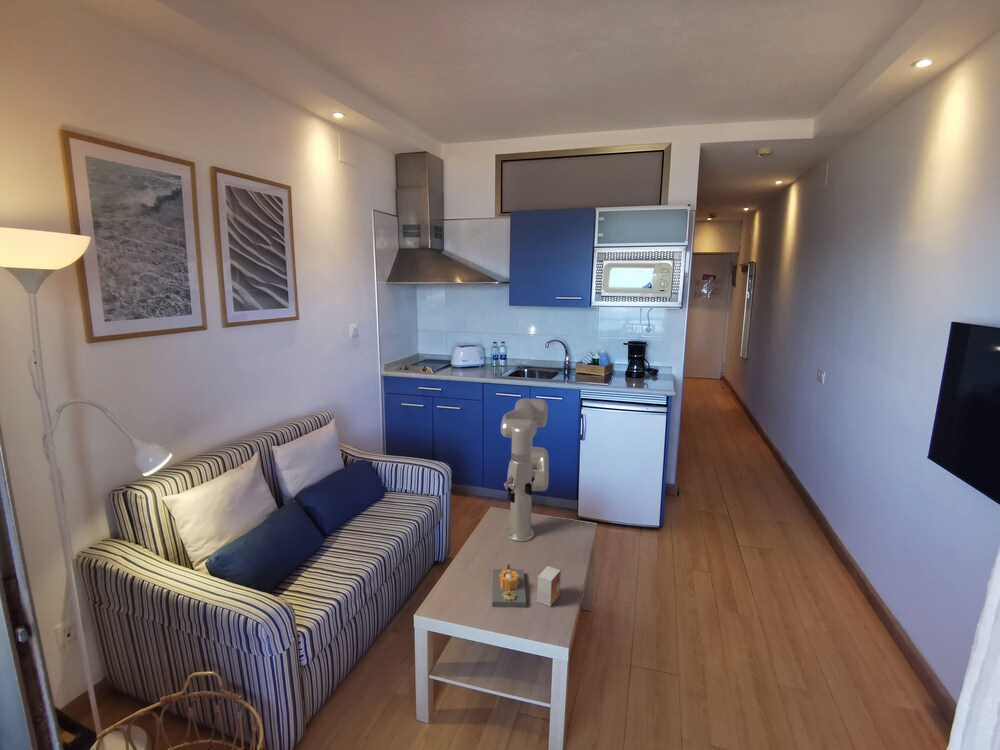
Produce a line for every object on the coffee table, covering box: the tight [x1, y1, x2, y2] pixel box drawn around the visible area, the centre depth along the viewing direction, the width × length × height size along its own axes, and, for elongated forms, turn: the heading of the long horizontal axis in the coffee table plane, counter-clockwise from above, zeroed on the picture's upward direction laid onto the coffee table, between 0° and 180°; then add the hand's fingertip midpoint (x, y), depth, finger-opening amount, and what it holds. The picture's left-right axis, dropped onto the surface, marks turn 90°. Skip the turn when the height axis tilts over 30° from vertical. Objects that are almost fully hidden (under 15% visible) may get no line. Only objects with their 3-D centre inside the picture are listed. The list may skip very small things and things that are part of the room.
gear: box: [499, 568, 519, 590], centre depth 184 cm, size 7×7×4 cm
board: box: [491, 563, 527, 608], centre depth 184 cm, size 20×12×6 cm, turn 0°
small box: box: [536, 565, 561, 608], centre depth 179 cm, size 8×6×10 cm
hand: (519, 497), depth 193 cm, fingers open, 9 cm apart
